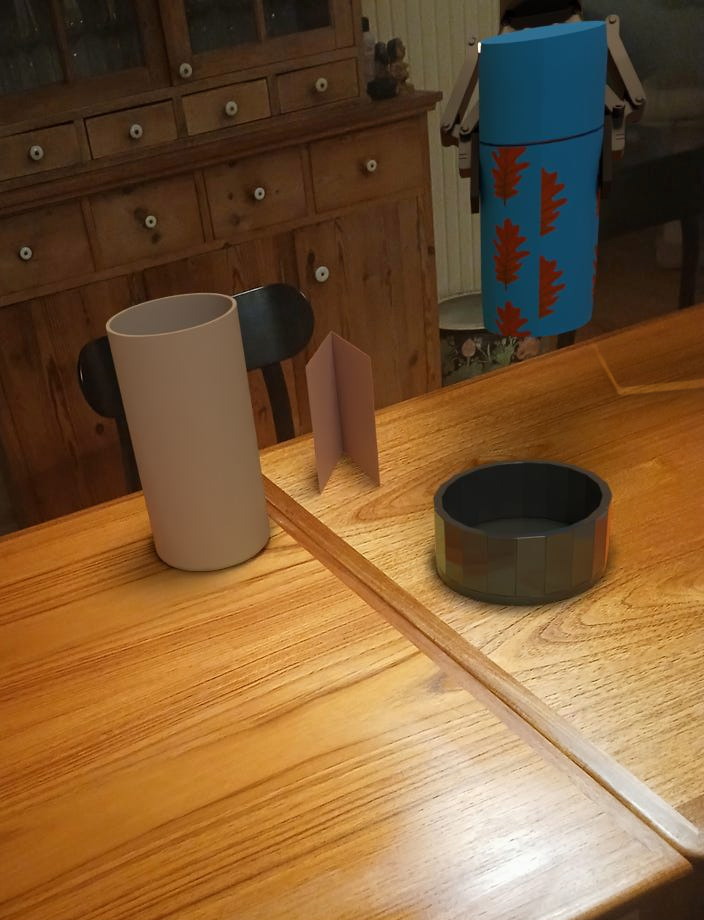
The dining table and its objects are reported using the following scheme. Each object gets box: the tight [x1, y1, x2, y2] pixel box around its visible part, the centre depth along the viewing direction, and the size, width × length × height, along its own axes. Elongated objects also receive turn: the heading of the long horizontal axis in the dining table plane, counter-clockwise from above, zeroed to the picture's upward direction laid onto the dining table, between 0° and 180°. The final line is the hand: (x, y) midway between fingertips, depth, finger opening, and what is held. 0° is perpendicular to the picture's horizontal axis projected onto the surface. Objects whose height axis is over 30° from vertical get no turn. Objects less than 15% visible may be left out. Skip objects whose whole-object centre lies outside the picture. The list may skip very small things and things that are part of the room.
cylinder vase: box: [105, 292, 271, 572], centre depth 100 cm, size 12×12×25 cm
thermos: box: [478, 20, 608, 338], centre depth 92 cm, size 11×11×25 cm
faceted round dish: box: [432, 458, 613, 607], centre depth 92 cm, size 16×16×7 cm
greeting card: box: [305, 330, 381, 495], centre depth 112 cm, size 11×7×15 cm, turn 161°
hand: (539, 198), depth 90 cm, fingers closed on thermos, 11 cm apart
